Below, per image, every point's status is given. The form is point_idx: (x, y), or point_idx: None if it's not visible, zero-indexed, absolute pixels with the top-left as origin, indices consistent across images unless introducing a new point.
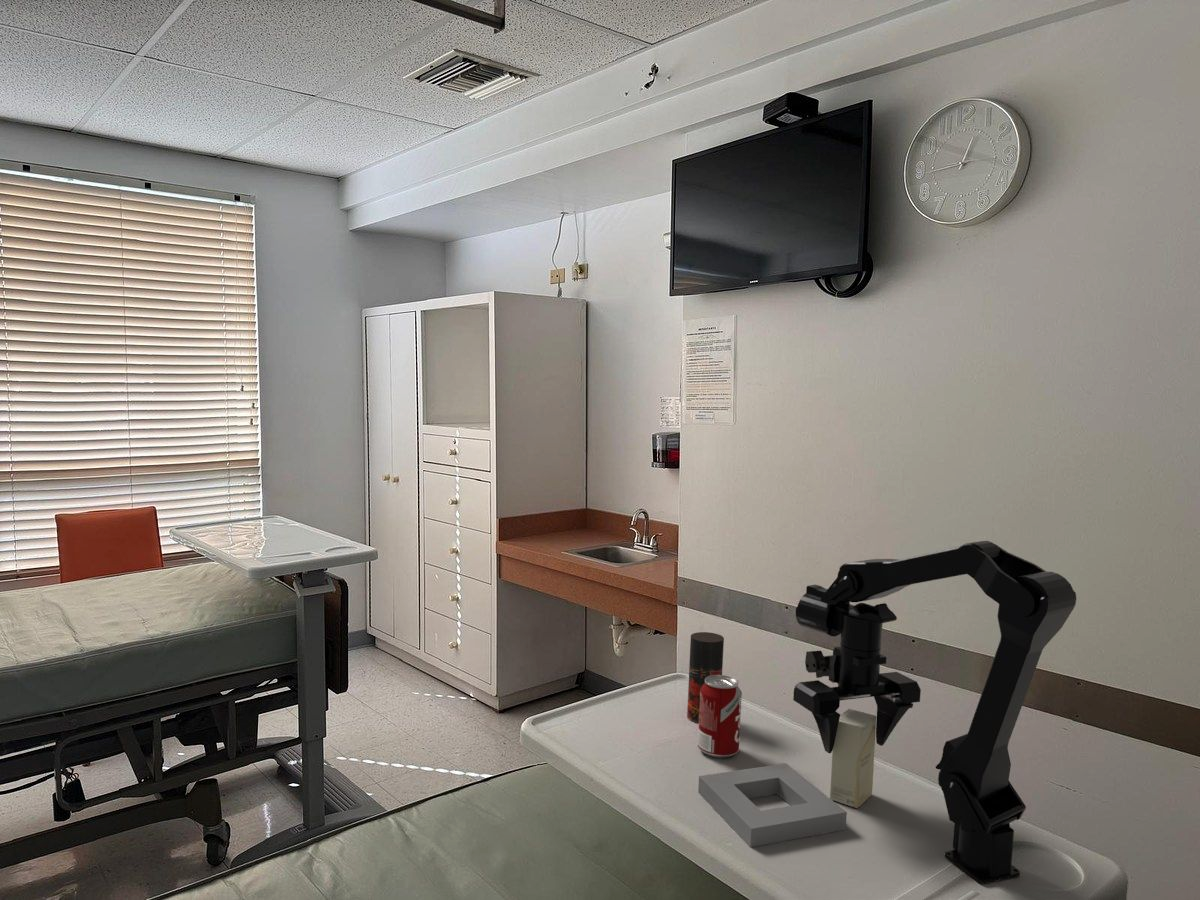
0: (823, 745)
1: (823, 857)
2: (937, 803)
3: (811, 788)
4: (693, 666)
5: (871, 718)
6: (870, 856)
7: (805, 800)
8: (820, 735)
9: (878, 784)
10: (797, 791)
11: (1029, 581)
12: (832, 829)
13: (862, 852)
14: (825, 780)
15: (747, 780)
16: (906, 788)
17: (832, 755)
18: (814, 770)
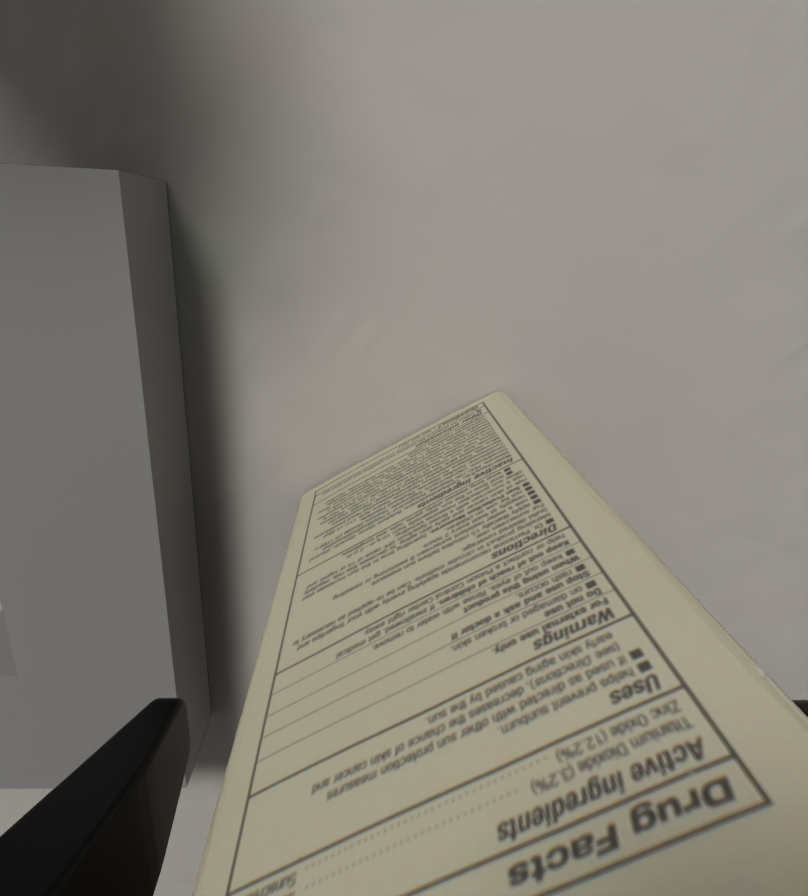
0: (118, 732)
1: (5, 824)
2: (783, 660)
3: (123, 556)
4: None
5: None
6: (197, 855)
7: (14, 651)
8: (15, 825)
9: (690, 437)
10: (7, 563)
11: None
12: None
13: (182, 834)
14: (428, 293)
15: None
16: (788, 516)
17: (255, 669)
18: (451, 137)
